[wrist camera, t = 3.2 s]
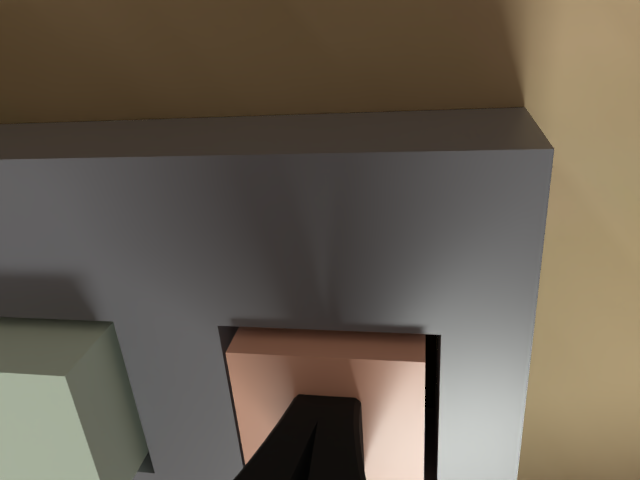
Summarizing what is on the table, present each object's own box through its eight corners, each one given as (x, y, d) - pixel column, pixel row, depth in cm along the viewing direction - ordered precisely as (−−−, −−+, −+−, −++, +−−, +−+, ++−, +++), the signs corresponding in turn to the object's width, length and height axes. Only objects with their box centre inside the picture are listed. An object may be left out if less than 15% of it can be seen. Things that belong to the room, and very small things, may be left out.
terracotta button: (279, 402, 16) (250, 491, 13) (263, 279, 14) (225, 352, 11) (424, 412, 15) (423, 507, 12) (425, 283, 13) (424, 362, 11)
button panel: (-122, 449, 21) (-201, 519, 18) (-297, 134, 16) (-444, 168, 13) (490, 506, 17) (502, 608, 14) (524, 107, 12) (553, 148, 9)
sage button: (37, 411, 16) (-40, 498, 13) (-8, 292, 14) (-105, 366, 12) (166, 421, 15) (112, 515, 13) (135, 296, 14) (65, 376, 11)
